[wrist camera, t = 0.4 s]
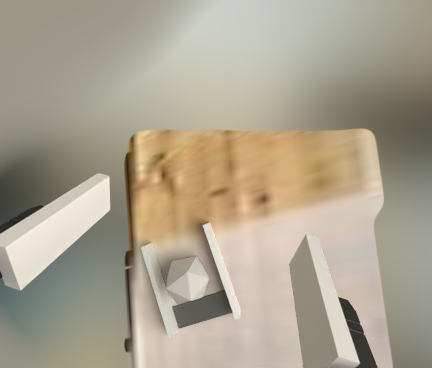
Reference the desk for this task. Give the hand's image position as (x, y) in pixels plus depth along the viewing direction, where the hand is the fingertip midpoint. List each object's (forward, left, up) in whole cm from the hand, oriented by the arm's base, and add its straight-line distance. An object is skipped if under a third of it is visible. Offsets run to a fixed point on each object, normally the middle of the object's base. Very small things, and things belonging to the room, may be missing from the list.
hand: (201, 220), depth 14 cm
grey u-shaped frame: (-11, +13, -33) cm, 37 cm away
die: (-11, +13, -33) cm, 37 cm away
